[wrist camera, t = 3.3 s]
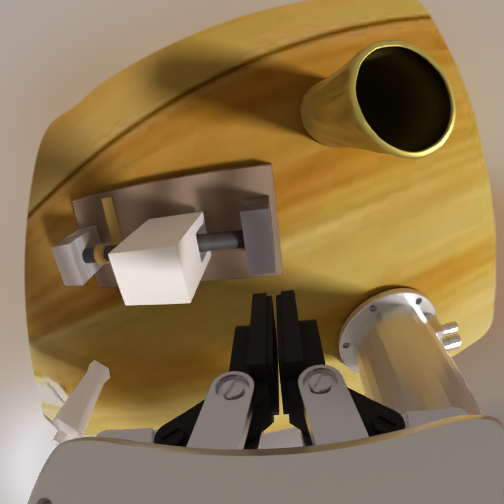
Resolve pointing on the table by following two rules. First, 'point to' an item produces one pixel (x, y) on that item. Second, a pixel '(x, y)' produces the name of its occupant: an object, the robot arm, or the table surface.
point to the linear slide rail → (176, 203)
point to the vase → (383, 103)
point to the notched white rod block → (161, 261)
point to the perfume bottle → (80, 404)
